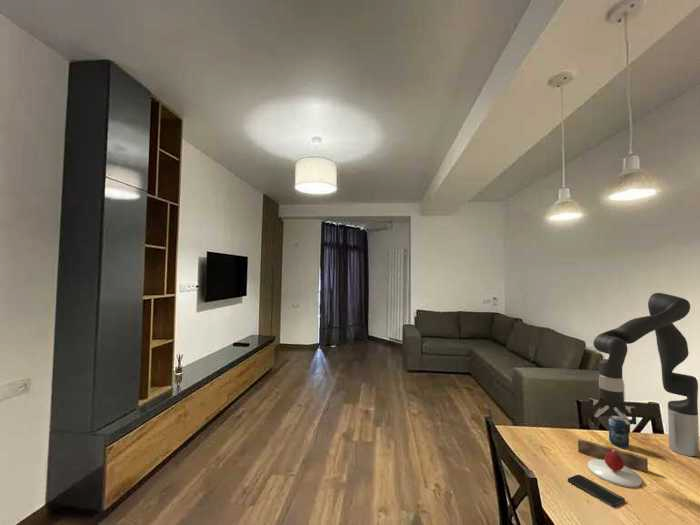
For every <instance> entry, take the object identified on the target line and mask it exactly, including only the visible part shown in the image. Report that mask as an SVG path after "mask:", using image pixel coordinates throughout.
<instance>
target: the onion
mask: <svg viewBox="0 0 700 525" xmlns="http://www.w3.org/2000/svg"><path fill="white" fill-rule="evenodd" d="M604 459H605V463H606V464H607V466H608V467H609V468H610V469H612V470H613V471H619V470H622V468H623V467H624V462H623V459H622V458H621V456H620V455H619V454H617V453H616V452H615V450H614V449H613V450H612V451H611V452H608V453H607V454H606V455H605V457H604Z"/></svg>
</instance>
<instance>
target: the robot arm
mask: <svg viewBox="0 0 700 525" xmlns="http://www.w3.org/2000/svg"><path fill="white" fill-rule="evenodd" d="M647 309H648V312H649V315H646V316H640V317H636V318H632V319H630V320H628V321H626V322H624V323H623V324H621V325H619V326H618V327H616V328H613V329H610V330H607V331H604V332H602V333H599V334H598V335H596V337H595V338H594V339H593V347H594V349H596V350H597V352H599V353H603V354H607V355H608V358H606V359H605V358H603V359H600V360H599V362H598V369H599V372H598V373H599V376H598V399H594V398H593V397H590V398H589V399H588V400H589V401H588V402H589V403H588V414H589V415H591V416H593V419H594V420H593V421H594V425H595V426H596V427H597V428H600V416H601V415H603V414H604V413H605V414H607V415H615V416H620V417H621V418H622V419H623V420H624V422H625V434H628V433H629V434H630V433H631V425H635V426H636V425H637V417H636V416H637V414H636V407H635V406H633V405H631V406H630V405H629V406H628V405H625V391H624V390H625V384H624V379H623V367H624V363H625V360H626V358H627V354H628V351H629V350H628V345H630V344H633V343H636V342H637V341H638V340H640V339H641V338H643V337H644V336H646V335H647V334H648V335H649V334H650V333H651V332H655V336H656V337H655V338H656V339H655V340H656V346H657V352H658V356H659V360H660V365H661V380H662V386H663V389H664V391H665V392H667V393H669V394H673V395H678V396H682V397H686V398H684V399H681V400H669V401H668V402H667V412H668V413H667V415H668V416H667V417H668V418H667V419H668V420H667V422H668V423H667V424H668V425H667V426H668V448H669V449H671V450H672V451H674V452H676V453H679V454H681V455H683V456H689V457H693V456H697V457H699V456H700V435H699V434H700V431H699V408H698V407H699V406H698V403H699V402H698V399H699V398H698V396H699V381H698V379H697V378H696V377H695V376H693V375H689V374H684V373H677V372H674V370H675V369H676V367H677V366H679V365H681V364H682V363H683V362H684V361H686V360H687V358H688V356H689V347H688V346H689V345H688V341H687V339H686V337H685V336H684V334H683V333H682V332H681V331H680V330H679V329H678V327H677V326H676V325H675V324H674V323H675V322H678V321H680V320H682V319H684V318H685V317H686V316H687V315H688V314H689V313H690V310H691V303H690V302H689V301H688V300H687V299H686V298H683V297H680V296H676V295H671V294H668V293H663V292H654V293H653V294H651V295H650V297H649V299H648V302H647ZM596 404H598V406H599V408H598V409H597V410H596V411H594V406H596ZM625 410H627V412H628V413H629V414H630V415H631V419H629V418H628V416H627V415H626V414H625V413H624V411H625Z"/></svg>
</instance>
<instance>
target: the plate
mask: <svg viewBox="0 0 700 525" xmlns="http://www.w3.org/2000/svg"><path fill="white" fill-rule="evenodd" d="M588 468H589V469H588ZM587 469H588V470H589V471H590V472H591V473H592V474H593V475H594V476H596V477H597V476H598V477H597V478H599V479H601V480H602V481H606V482H607V481H608V483H609V484H612V483H613V485H615V486H619V487H624V488H625V487H626V488H637V487H638V488H639V487H641V486H642V484H643V480H642V477H641V476H640V475H639V474H638V473H637V472H636V471H634V470H633V469H632V468H630V467H627V466H624V467H623V468H622V470H619V471H613V470H612V469H610V468H609V467H608V466H607V464H606V463H605V460H603V459H600V458H594V459H590V460H589V461H588V462H587Z"/></svg>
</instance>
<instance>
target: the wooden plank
mask: <svg viewBox="0 0 700 525" xmlns="http://www.w3.org/2000/svg"><path fill="white" fill-rule="evenodd" d="M577 445H578V446H577V449H578V450H577V451H578V453H579V452H580V454H583V453H584V455H586V454H588V455H587V456H590V455H592V456H591V457H593V456H594V458H596V457H597V458H596V459H602V460H605V459H604V457H605V455H606V454H607V453H608V452H611V451H612V450H613V449H614V450H615V452H616V453H617V454H619V455H620V456H621V458H622V459H623V462H624V466H626V467H628V468H630V469H632V470H633V469H634V470H637V471H641V472H643V473H649V468H648V467H649V465H648V462H649V461H648V457H647V456H643V455H639V454H636V453H633V452H629V451H626V450H622V449H617V448H614V447H612V446H611V447H610V446H607V445H603V444H600V443H596V442H592V441H588V440H585V439H582V438H578V439H577Z"/></svg>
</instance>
